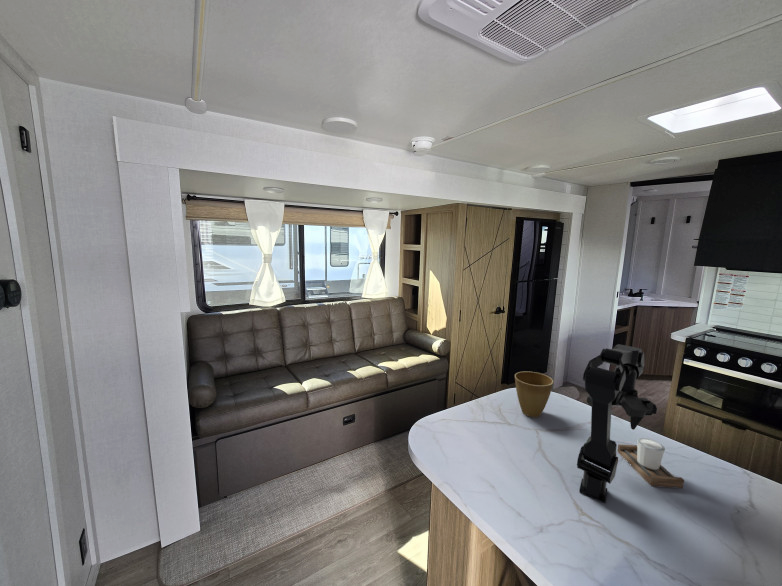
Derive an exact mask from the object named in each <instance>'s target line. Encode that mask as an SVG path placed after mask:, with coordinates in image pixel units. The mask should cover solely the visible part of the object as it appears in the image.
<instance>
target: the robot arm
mask: <svg viewBox="0 0 782 586" xmlns="http://www.w3.org/2000/svg"><path fill="white" fill-rule="evenodd" d="M604 363H606V364H610V365H614V366H615V367H614V370H613V371H612V370H610V369H609V370H608V369H605V368H601V367H600V366H602V365H604ZM644 367H645V353H644V352H643V350H642V348H639V347H634V346H630V345H626V344H625V345H624V344H622V343H621V344H619V343H617V344H616V345H615V346H614V347H613V348H602V350H601V351H600V354H599V355H597V356H595V357H594V358H592V359H590V360H589V361H588V363H587V366H585V370H584V372H583V375H582V376H583V377H582V379H583V382H584V390H585V392H586V393H587V394H588V396H587V399H586V403H588V405H589V406H590V407H591V419H590V420H591V422H590V436H589V437H588V438H587V440H586V442H584V444H583V445H582V446H581V447H580V450H579V453H578V456H577V461H576V462H577V463H576V468H577V469H578V470H582V471H583V476H582V478H581V481H580V486H579V488H578V489H579V493H580V494H583V495H586V496H588V497H590V498H592V499H595V500H597V501H599V502H602V503H607V495H608V488H607V485H608V484H609V485H610V484H612V482H613V481H614V479H615V477H616V472H617V468H618V467H617V466H618V463H619V457H618V456H617V448H618V444H617V443H616V441H614V440H611V426H612V410H613V409H612V407H618V408H619V407H620V408H622V409H623V410H624V412H625V414H626V415H627V416H628V417H630V429H632V430H635V429H636V428H637V427H638V426H639V424H640V422H641V421H642V419H644V418H645V417H651V416H653V415H657V413H658V406H657V405H656V403H654V402H652V401H651V400H649V399H648V398H646V397H639V396H638V395H639V392H638V390H637V389H636V382H637V381H636V380H637V379H638V378H639V377H640V376H641V375H642V374H643V372H644Z"/></svg>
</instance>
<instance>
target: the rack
mask: <svg viewBox="0 0 782 586" xmlns="http://www.w3.org/2000/svg"><path fill="white" fill-rule="evenodd" d="M617 451H618V452H617ZM616 452H617V453H618V454H619V455H620V456H621V457H622V456H623V457H622V458H623V459H624V458H625V459H624V460H625V461H626V460H627V461H628V462H629V463H628V462H627V461H626V462H627V463H628V464H629V465H630V464H631V465H630V466H631V468H632V469H633V470H634V471H636V472H637V474H639V476H640V477H641V478H643V479H644V480H645V481H647V482H648V483H649V484H650V485H651V486H650V485H649V484H648V483H647V482H646V483H647V484H648V485H649V486H650V487H658V486H663V487H662V488H672V487H678V488H677V489H684V484H685V479H684V478H683V477H679V476H674V475H673V474H672V473H671V472H670V471H669V470H667V468H665V467H664V466H663V465H662V464H660V467H659V469H657V470H654V469H649V468H646V467H644V466H642V465H641V464H640V463H639V462H638V461H637V444H636V445H633V444H620V443H619V444H617V449H616Z"/></svg>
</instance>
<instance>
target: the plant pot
mask: <svg viewBox="0 0 782 586" xmlns="http://www.w3.org/2000/svg"><path fill="white" fill-rule="evenodd" d="M514 381H515V389H516V395H517V398H518V399H517V400H518V404H519V407H520V409H521V413H522V414H524V415H525V416H527V417H530V418H539V417H541V416H542V413H543V412H544V410H545V409H546V405H547V404H548V401H549V398H550V397H551V392H552V389H553V387H554V386H553V385H554V380H553V378H551V377H550V376H548V375H546V374H544V373H541V372H537V371H536V372H535V371H534V372H533V371H525V370H524V371H519V372H516V373H515V374H514Z"/></svg>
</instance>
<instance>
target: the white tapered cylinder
mask: <svg viewBox="0 0 782 586" xmlns="http://www.w3.org/2000/svg"><path fill="white" fill-rule="evenodd" d="M636 442H637V443H636V446H637V461H638V462H639V463H640V464H641V465H642V466H644V467H646V468H649V469H654V470H657V469H659V467H660V464H661V463H662V459H663V457H664V454H665V450H666V448H665V446H664V445H663V444H662V443H660V442H658V441H656V440H654V439H650V438H649V437H648V438H647V437H639V438H638V439H637V441H636ZM661 465H662V464H661Z"/></svg>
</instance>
